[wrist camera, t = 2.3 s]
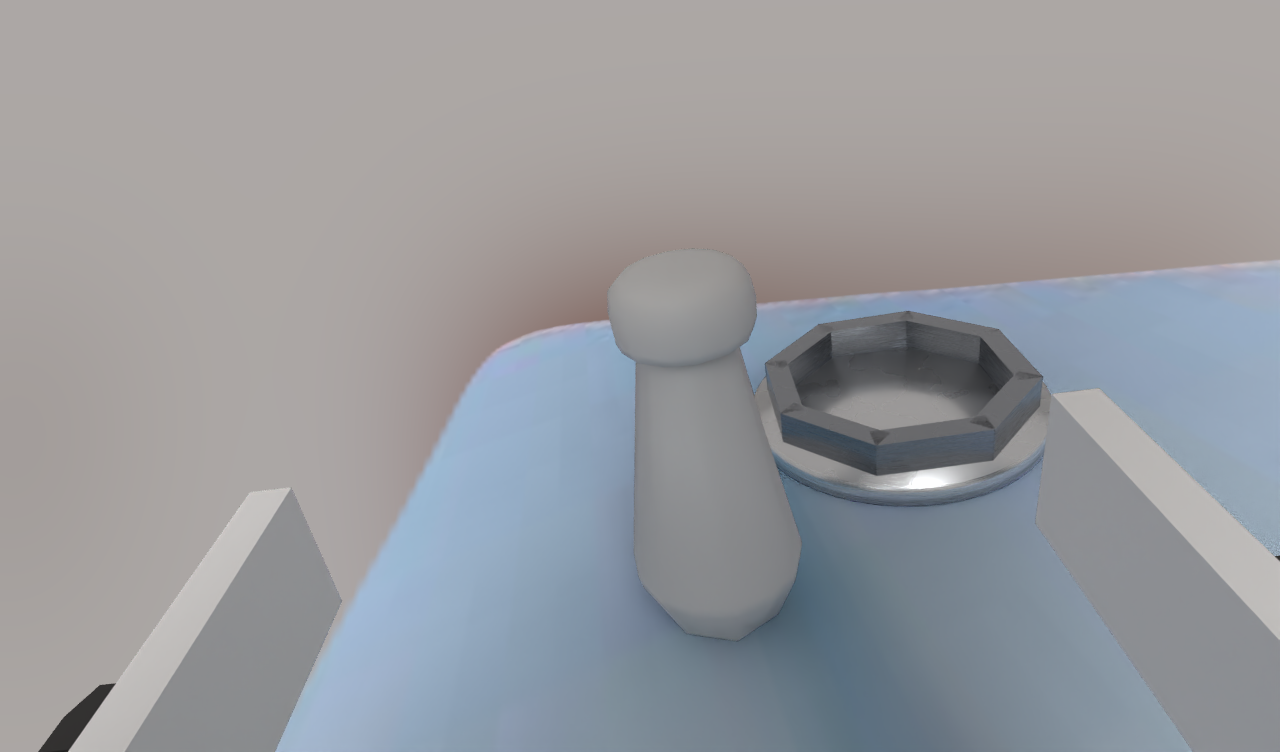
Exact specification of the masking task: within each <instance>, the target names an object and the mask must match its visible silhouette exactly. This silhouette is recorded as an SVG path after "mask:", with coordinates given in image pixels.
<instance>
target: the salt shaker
mask: <svg viewBox="0 0 1280 752" xmlns="http://www.w3.org/2000/svg"><path fill="white" fill-rule="evenodd" d="M607 294H608V314H609V319H610V323H611V327H612V330H613V334H614V338H615V342H616V345H617V346H618V348H619V349H620V351H621V352H622V353H623V354H624V355H626V356H627V357H629V358H630V359H632V360H634V361H635V362H636V385H635V474H634V556H635V561H636V566H637V571H638V576H639V579H640V581H641V583H642V585H643V587H644V588H645V589H646V590H647V591H648V593H649V594H650V595H651V596H652V597H653V598H654V599H655V600H656V601H657V602H658V603H659V604H660V605H661V606H662V608H663V609H664V610H665V611H666V612H667V613H668V614H669V615H670V616H671V617H672V618H673V619H674V621H675V622H676V623H677V624H678V625H679V626H680V627H681V628H682V629H683V630H684V631H685V633H686V634H691V635H698V636H705V637H712V638H718V639H725V640H732V641H739V640H740V639H742V638H743V637H745V636H746V635H748V634H749V633H751V632H752V631H754V630H755V629H757V628H758V627H760V626H761V625H763V624H764V623H766V622H767V621H769V620H770V619H772V618H773V617H775V616H776V615H778V614H779V612H780V610H781V608H782V606H783V604H784V602H785V600H786V598H787V596H788V594H789V592H790V590H791V588H792V586H793V584H794V582H795V579H796V574H797V570H798V565H799V560H800V555H801V547H802V541H801V538H800V535H799V532H798V529H797V526H796V523H795V520H794V517H793V514H792V511H791V508H790V505H789V502H788V499H787V496H786V493H785V490H784V487H783V484H782V481H781V478H780V475H779V472H778V469H777V466H776V463H775V460H774V457H773V454H772V451H771V448H770V445H769V442H768V439H767V436H766V433H765V430H764V426H763V423H762V420H761V416H760V413H759V410H758V407H757V403H756V400H755V397H754V393H753V390H752V387H751V383H750V380H749V377H748V374H747V370H746V367H745V364H744V360H743V357H742V354H741V350H740V346H741V345H743V344H744V343H746V342H747V341H748V340H749V337H750V335H751V332H752V330H753V328H754V324H755V321H756V317H757V309H756V294H755V291H754V287H753V284H752V280H751V277H750V274H749V273H748V272H747V270H746V268H745V267H744V265H743V264H742V263H741V262H739V261H738V260H737V259H735V258H734V257H733V256H731V255H729V254H725V253H723V252H720V251H717V250H710V249H695V248H691V249H683V250H675V251H667V252H664V253H660V254H656V255H653V256H649V257H645V258H643V259H641V260H639V261H637V262H635V263H633V264H631V265H630V266H628V267H626V268H625V269H624V270H623V272H622V273H621V274H620V275H619V276H618V277H617V279H616V280H615V281H614V283H613V284H612V285H611V287H610V288H609V289H608V293H607Z"/></svg>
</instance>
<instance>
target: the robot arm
mask: <svg viewBox="0 0 1280 752" xmlns="http://www.w3.org/2000/svg"><path fill="white" fill-rule="evenodd" d="M1035 523H1036V525H1037V526H1038V528H1039V529H1040V531H1041V532H1042V534H1043V535H1044V536H1045V538H1046V539H1047V541H1048V542H1049V544H1050V545H1051V547H1052V548H1053V549H1054V551H1055V552H1056V554H1057V555H1058V557H1059V558H1060V560H1061V561H1062V563H1063V564H1064V565H1065V567H1066V568H1067V570H1068V571H1069V573H1070V574H1071V576H1072V577H1073V578H1074V580H1075V581H1076V583H1077V584H1078V586H1079V587H1080V589H1081V590H1082V591H1083V593H1084V594H1085V596H1086V597H1087V599H1088V600H1089V602H1090V603H1091V605H1092V606H1093V607H1094V609H1095V610H1096V612H1097V613H1098V615H1099V616H1100V618H1101V619H1102V620H1103V622H1104V623H1105V625H1106V626H1107V628H1108V629H1109V631H1110V632H1111V633H1112V635H1113V636H1114V638H1115V639H1116V641H1117V642H1118V644H1119V645H1120V647H1121V648H1122V649H1123V651H1124V652H1125V654H1126V655H1127V657H1128V658H1129V660H1130V661H1131V662H1132V664H1133V665H1134V667H1135V668H1136V670H1137V671H1138V673H1139V674H1140V675H1141V677H1142V678H1143V680H1144V681H1145V683H1146V684H1147V686H1148V687H1149V689H1150V690H1151V691H1152V693H1153V694H1154V696H1155V697H1156V699H1157V700H1158V702H1159V703H1160V704H1161V706H1162V707H1163V709H1164V710H1165V712H1166V713H1167V715H1168V716H1169V717H1170V719H1171V720H1172V722H1173V723H1174V725H1175V726H1176V728H1177V729H1178V731H1179V732H1180V733H1181V735H1182V736H1183V738H1184V739H1185V741H1186V742H1187V744H1188V745H1189V746H1190V748H1191V749H1192V751H1193V752H1280V556H1274V555H1273V554H1272V553H1271V552H1269V551H1268V550H1267V549H1266V548H1265V547H1264V546H1263V545H1262V544H1261V543H1260V542H1259V541H1258V540H1257V539H1256V538H1255V537H1254V536H1253V535H1252V534H1251V533H1250V532H1249V531H1248V530H1247V529H1245V528H1244V527H1243V526H1242V525H1241V524H1240V523H1239V522H1238V521H1237V520H1236V519H1235V518H1234V517H1233V516H1232V515H1231V514H1230V513H1229V512H1228V511H1227V510H1226V509H1225V508H1224V507H1223V506H1221V505H1220V504H1219V503H1218V502H1217V501H1216V500H1215V499H1214V498H1213V497H1212V496H1211V495H1210V494H1209V493H1208V492H1207V491H1206V490H1205V489H1204V488H1203V487H1202V486H1201V485H1200V484H1199V483H1197V482H1196V481H1195V480H1194V479H1193V478H1192V477H1191V476H1190V475H1189V474H1188V473H1187V472H1186V471H1185V470H1184V469H1183V468H1182V467H1181V466H1180V465H1179V464H1178V463H1177V462H1176V461H1175V460H1173V459H1172V458H1171V457H1170V456H1169V455H1168V454H1167V453H1166V452H1165V451H1164V450H1163V449H1162V448H1161V447H1160V446H1159V445H1158V444H1157V443H1156V442H1155V441H1154V440H1153V439H1152V438H1151V437H1150V436H1148V435H1147V434H1146V433H1145V432H1144V431H1143V430H1142V429H1141V428H1140V427H1139V426H1138V425H1137V424H1136V423H1135V422H1134V421H1133V420H1132V419H1131V418H1130V417H1129V416H1128V415H1127V414H1126V413H1124V412H1123V411H1122V410H1121V409H1120V408H1119V407H1118V406H1117V405H1116V404H1115V403H1114V402H1113V401H1112V400H1111V399H1110V398H1109V397H1108V396H1107V395H1106V394H1105V393H1104V392H1103V391H1102V390H1100V389H1099V388H1096V389H1088V390H1080V391H1072V392H1063V393H1055V394H1052V395H1051V403H1050V411H1049V419H1048V426H1047V434H1046V442H1045V450H1044V458H1043V465H1042V473H1041V481H1040V489H1039V497H1038V504H1037V512H1036V520H1035ZM341 602H342V600H341V598H340V595H339V593H338V591H337V589H336V587H335V584H334V582H333V580H332V577H331V575H330V573H329V571H328V569H327V566H326V564H325V562H324V559H323V557H322V555H321V553H320V550H319V549H318V546H317V544H316V542H315V539H314V537H313V535H312V533H311V530H310V528H309V526H308V524H307V521H306V519H305V517H304V514H303V512H302V510H301V508H300V505H299V503H298V501H297V499H296V496H295V494H294V492H293V490H292V488H291V487H290V488H282V489H274V490H265V491H257V492H250V493H249V494H248V496H247V498H246V499H245V500H244V502H243V503H242V504H241V506H240V507H239V509H238V510H237V512H236V513H235V514H234V516H233V517H232V519H231V520H230V521H229V523H228V524H227V526H226V527H225V529H224V530H223V531H222V533H221V534H220V536H219V537H218V539H217V540H216V541H215V543H214V544H213V546H212V547H211V549H210V550H209V551H208V553H207V554H206V556H205V557H204V559H203V560H202V561H201V563H200V564H199V566H198V567H197V569H196V570H195V571H194V573H193V574H192V576H191V577H190V579H189V580H188V581H187V583H186V585H185V586H184V587H183V589H182V590H181V591H180V593H179V595H178V596H177V597H176V599H175V600H174V601H173V603H172V604H171V606H170V607H169V609H168V610H167V612H166V613H165V614H164V616H163V617H162V619H161V620H160V621H159V623H158V624H157V626H156V627H155V628H154V630H153V631H152V633H151V634H150V636H149V637H148V638H147V640H146V641H145V643H144V644H143V646H142V647H141V648H140V650H139V651H138V653H137V654H136V656H135V657H134V659H133V660H132V661H131V663H130V664H129V666H128V667H127V669H126V670H125V671H124V673H123V674H122V676H121V677H120V678H119V680H118V681H117V683H115V684H106V685H100V686H98V687H97V688H96V689H95V690H94V691H93V692H92V693H91V694H90V695H88V696H87V697H86V698H85V699H84V700H83V701H82V702H80V703H79V704H78V705H77V706H76V707H75V708H74V709H73V710H72V711H70V712H69V713H68V714H67V715H66V716H65V717H64V718H63V719H62V720H61V722H60V723H59V725H58V726H57V727H56V729H55V730H54V731H53V733H52V734H51V735H50V737H49V738H48V739H47V741H46V742H45V744H44V745H43V746H42V748H41V749H40V750H39V752H275V750H276V748H277V746H278V744H279V741H280V739H281V737H282V735H283V732H284V730H285V728H286V726H287V723H288V721H289V719H290V717H291V715H292V712H293V710H294V708H295V706H296V703H297V701H298V699H299V697H300V694H301V692H302V690H303V688H304V685H305V683H306V681H307V679H308V676H309V674H310V672H311V670H312V667H313V665H314V663H315V661H316V658H317V656H318V654H319V652H320V649H321V647H322V645H323V643H324V640H325V638H326V636H327V634H328V631H329V629H330V627H331V625H332V622H333V620H334V618H335V616H336V613H337V611H338V609H339V607H340V604H341Z"/></svg>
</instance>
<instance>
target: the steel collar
mask: <svg viewBox="0 0 1280 752" xmlns="http://www.w3.org/2000/svg"><path fill="white" fill-rule="evenodd" d="M765 369H766V377H765V378H764V379H763V380H762V382H761V383H760V385H759V387H758V388H757V390H756V393H755V396H754V397H755V400H756V403H757V407H758V410H759V413H760V416H761V420H762V423H763V426H764V430H765V433H766V436H767V439H768V442H769V445H770V448H771V451H772V454H773V457H774V460H775V463H776V466H777V467H778V468H779V469H780V470H781V471H783V472H784V473H785V474H787V475H788V476H790V477H792V478H793V479H795V480H797V481H798V482H800V483H802V484H804V485H807V486H809V487H811V488H813V489H815V490H818V491H821V492H824V493H827V494H830V495H832V496H836V497H840V498H844V499H848V500H852V501H858V502H864V503H870V504H878V505H891V506H925V505H936V504H945V503H951V502H957V501H962V500H967V499H970V498H974V497H978V496H981V495H985V494H987V493H990V492H992V491H995V490H998V489H1000V488H1003V487H1004V486H1006V485H1008V484H1010V483H1012V482H1014V481H1016V480H1018V479H1019V478H1020V477H1022V476H1023V475H1024V474H1026V473H1027V472H1029V471H1030V470H1031V469H1032V468H1033V467H1034V466H1035V465H1036V464H1037V463H1038V462H1039V461H1040V460H1041V458H1042V457H1043V455H1044V450H1045V442H1046V434H1047V426H1048V419H1049V411H1050V403H1051V394H1050V392H1049V390H1048V388H1047V386H1046V385H1045V384H1044V382H1043V381H1042V380H1043V376H1042V375H1041V374H1040V373H1039V372H1038V371H1037V370H1036V369H1035V368H1034V367H1033V366H1032V365H1031V364H1030V362H1029V361H1028V360H1027V359H1026V358H1025V357H1024V356H1023V355H1022V354H1021V353H1020V352H1019V351H1018V350H1017V348H1016V347H1015V346H1014V345H1013V344H1012V343H1011V342H1010V341H1009V340H1008V339H1007V338H1006V337H1005V336H1004V334H1003V333H1002V332H1001V331H1000V330H999V329H995V328H990V327H985V326H980V325H975V324H970V323H965V322H961V321H956V320H951V319H946V318H941V317H936V316H931V315H926V314H921V313H916V312H911V311H905V312H898V313H891V314H885V315H878V316H871V317H865V318H858V319H851V320H844V321H838V322H831V323H824V324H818V325H817V326H816V327H814V328H813V329H812V330H810V331H809V332H807V333H806V334H805V335H803V336H802V337H801V338H799V339H798V340H796V341H795V342H794V343H792V344H791V345H790V346H788V347H787V348H785V349H784V350H783V351H781V352H780V353H779V354H777V355H776V356H774V357H773V358H772V359H770V360H769V361H768V362H766V363H765Z"/></svg>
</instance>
